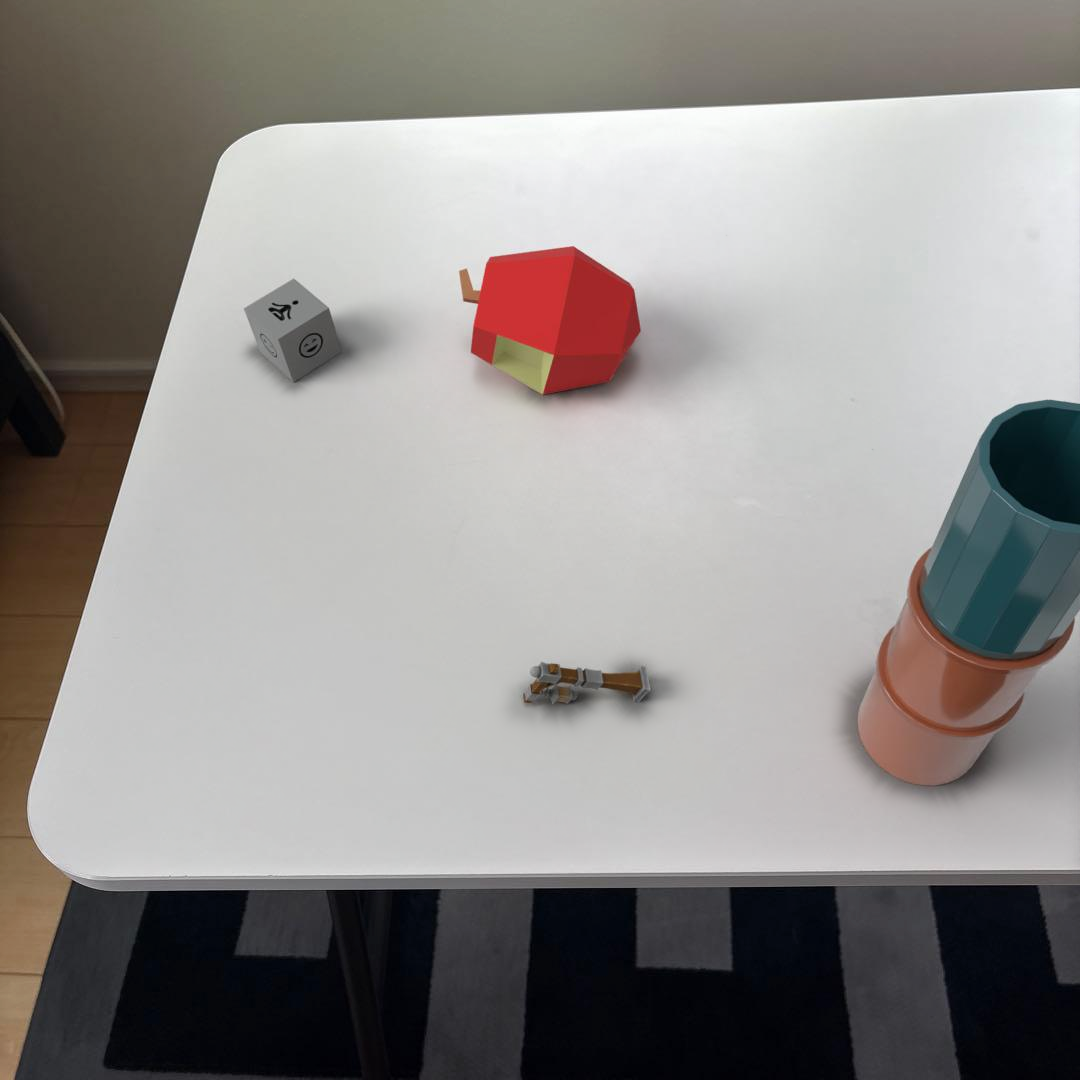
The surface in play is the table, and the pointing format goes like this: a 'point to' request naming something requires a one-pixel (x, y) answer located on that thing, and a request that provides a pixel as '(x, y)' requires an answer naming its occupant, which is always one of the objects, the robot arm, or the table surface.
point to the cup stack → (938, 697)
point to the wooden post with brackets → (583, 682)
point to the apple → (552, 318)
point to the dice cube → (293, 329)
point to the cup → (1011, 537)
